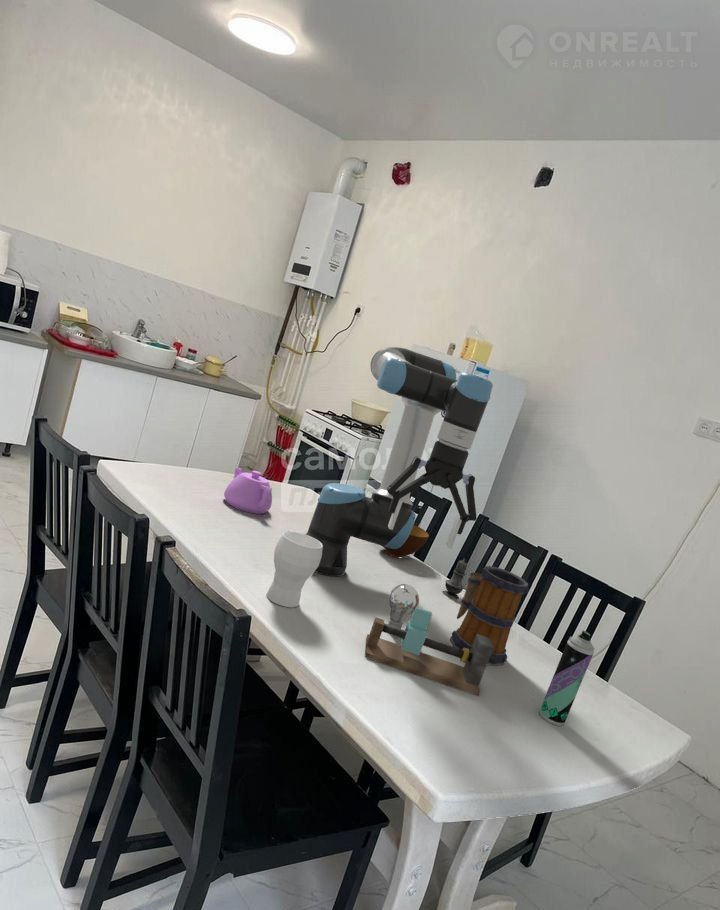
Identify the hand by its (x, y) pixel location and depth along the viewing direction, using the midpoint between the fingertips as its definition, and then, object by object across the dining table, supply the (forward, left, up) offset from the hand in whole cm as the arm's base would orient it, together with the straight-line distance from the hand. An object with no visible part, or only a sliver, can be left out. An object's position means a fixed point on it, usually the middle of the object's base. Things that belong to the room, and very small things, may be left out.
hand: (419, 537), depth 150 cm
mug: (+24, +17, -26) cm, 39 cm away
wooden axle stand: (+9, -5, -25) cm, 27 cm away
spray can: (+38, -9, -26) cm, 47 cm away
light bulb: (+3, +8, -26) cm, 27 cm away
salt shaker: (+22, +52, -26) cm, 62 cm away
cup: (-24, +5, -26) cm, 35 cm away
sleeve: (+5, -5, -22) cm, 24 cm away
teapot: (-47, +72, -26) cm, 90 cm away
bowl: (+4, +75, -26) cm, 80 cm away
